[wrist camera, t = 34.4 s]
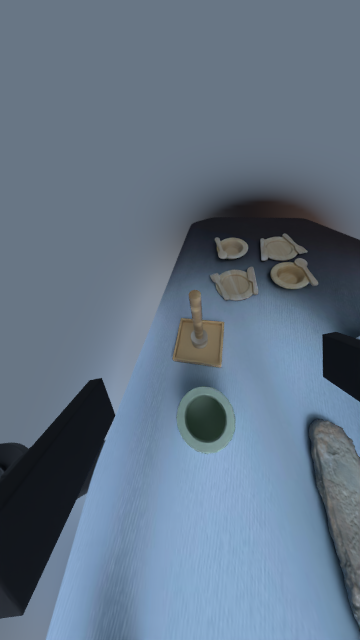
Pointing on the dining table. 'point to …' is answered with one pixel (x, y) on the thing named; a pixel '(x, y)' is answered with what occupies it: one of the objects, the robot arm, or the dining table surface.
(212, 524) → the dining table surface
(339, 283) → the dining table surface
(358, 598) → the elongated rock
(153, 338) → the dining table surface
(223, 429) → the green cylindrical container
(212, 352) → the tray
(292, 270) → the tableware set
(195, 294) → the wooden pestle
